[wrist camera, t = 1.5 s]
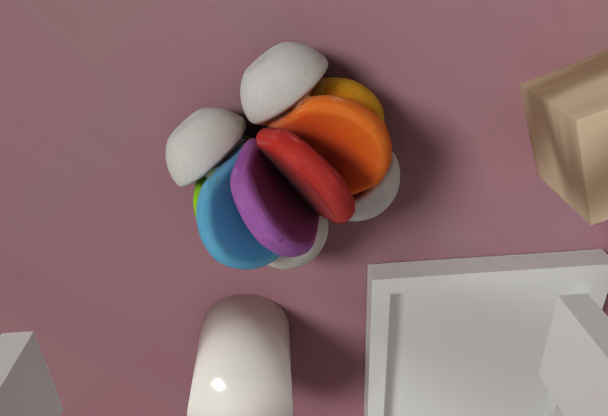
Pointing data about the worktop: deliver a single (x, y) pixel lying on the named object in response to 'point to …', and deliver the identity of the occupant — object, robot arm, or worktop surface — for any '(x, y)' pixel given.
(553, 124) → the oak block
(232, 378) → the white domed cylinder
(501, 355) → the tray
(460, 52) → the worktop surface
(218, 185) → the multicoloured rounded cluster
